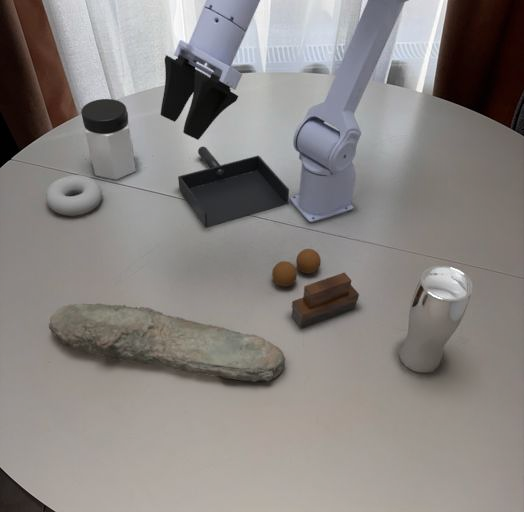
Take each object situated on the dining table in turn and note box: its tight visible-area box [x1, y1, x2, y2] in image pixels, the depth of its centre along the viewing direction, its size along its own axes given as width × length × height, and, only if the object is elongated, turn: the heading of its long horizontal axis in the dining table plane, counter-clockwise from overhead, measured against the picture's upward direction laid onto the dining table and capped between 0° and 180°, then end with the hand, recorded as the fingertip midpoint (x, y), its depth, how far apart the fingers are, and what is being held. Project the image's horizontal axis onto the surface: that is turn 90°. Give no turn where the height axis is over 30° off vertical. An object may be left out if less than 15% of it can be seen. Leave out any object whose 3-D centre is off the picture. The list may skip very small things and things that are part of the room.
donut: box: [45, 174, 103, 217], centre depth 106 cm, size 10×4×10 cm
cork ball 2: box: [295, 248, 322, 274], centre depth 95 cm, size 4×4×4 cm
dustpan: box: [177, 146, 290, 229], centre depth 111 cm, size 21×17×3 cm
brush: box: [291, 272, 360, 329], centre depth 88 cm, size 10×3×6 cm, turn 117°
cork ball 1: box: [271, 260, 298, 287], centre depth 93 cm, size 4×4×4 cm
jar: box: [80, 98, 137, 181], centre depth 110 cm, size 9×8×12 cm
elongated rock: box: [48, 302, 286, 383], centre depth 83 cm, size 35×5×10 cm
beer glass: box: [398, 264, 474, 374], centre depth 79 cm, size 7×7×15 cm
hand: (178, 127), depth 75 cm, fingers open, 7 cm apart
